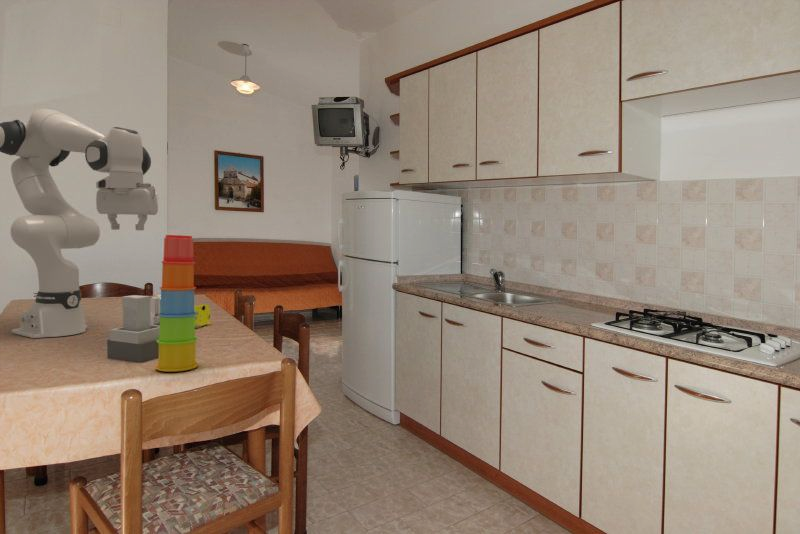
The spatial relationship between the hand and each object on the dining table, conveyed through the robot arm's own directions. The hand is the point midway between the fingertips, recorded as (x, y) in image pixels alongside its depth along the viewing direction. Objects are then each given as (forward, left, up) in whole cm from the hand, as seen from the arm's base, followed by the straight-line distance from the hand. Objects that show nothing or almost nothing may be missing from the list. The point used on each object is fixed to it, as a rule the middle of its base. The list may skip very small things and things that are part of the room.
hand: (127, 230), depth 151 cm
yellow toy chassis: (-2, +28, -36) cm, 45 cm away
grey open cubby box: (+12, -8, -35) cm, 38 cm away
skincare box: (+12, -8, -30) cm, 34 cm away
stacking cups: (+30, -13, -35) cm, 48 cm away
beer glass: (+8, +4, -35) cm, 36 cm away
